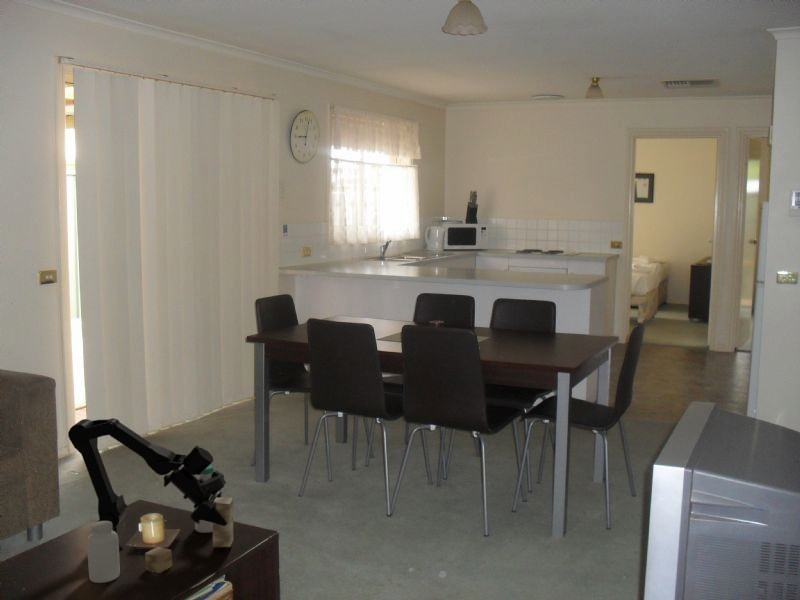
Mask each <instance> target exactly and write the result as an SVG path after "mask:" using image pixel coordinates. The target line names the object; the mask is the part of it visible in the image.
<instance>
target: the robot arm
mask: <svg viewBox="0 0 800 600" xmlns="http://www.w3.org/2000/svg"><path fill="white" fill-rule="evenodd" d="M67 435H68V439H69V441H70V442H71V444H72V446H73V447H74V449H75V450H77V452H78V453H79V454H80V455H81V457H82V459H83V462H84V465H85V467H86V471H87V473H88V475H89V478H90V481H91V484H92V487H93V489H94V492H95V495H96V496H97V497H96V498H97V499H98V500H97V513H98V521H97V522H100V521H110V522H112V527H113V528H112V529H113V530H112V531H114V532H116V533H117V534H118V527H117V526H118V525H119V524H120V523H121V521H122V520H123V519H124V518H125V516H126V514H127V508H128V505H127V504H126V501H125V498H124V495H123V494H121V495H117V493H115V492H114V489H113V486H112V484H111V481H110V479H109V476H108V473H107V469H106V468H105V464H104V461H103V459H102V456H101V454H100V451H99V448H98V442H99V441H98V439H99V438H101V437H104V436H105V437H106V436H110V437H111V438H112V439H113V440H115V441H117V442H118V443H121V445H123V446H125V447H126V448H128V449H129V450H131V451H132V452H133V453H135V454H136V455H138V456H140V457H141V458H142V459H143V460H144V461H145V463H146V464H147V466H148V467H149V468H150V470H152V471H154V473H156V475H159V476H164V477H163V486H164V487H166V488H167V486H168V485H169V484H170V483H171V484H172V485H173V486H174V487H175V488H176V489H177V490H178V491H180V493H182V494H183V497H182V498H183V499H184V500H187V499H188V500H189V501H190V502H191V503H192V504H193V508H195V509H193V511H192V512H191V513H190V520H191V521H192V522H194V524H195V523H197V522H198V521H199V520H204V521H208V522H212V523H215V524H219V525H222V526H226V525H227V522H226V521H225V520H224V518H223V517H222V516H221V515H220V513H219V512H218V511H217V510H216V503H214V504H213V502H214V500H215V499H216V498H222V495H223V494H222V493H223V492H222V491H221V490H223V488H224V487H225V484H227V482H226V480H225V475H224V474H222V472H220V471H218V470H214V471H213V472H212V474H211V478H209V479H208V480H206V481H204V480H203V479H201V478H200V479H199V478H197V477H196V475H197V476H199V475H200V474H201V473H202V472H203V471H204V470H205V469H206V468H207V467H208V466H209V465H211V464H212V463H213V462H214V457H213V455H212V454H211V453H210V451H208V450H207V449H204V448H202V447H199V446H198V445H195V446H194V447H193V448H192V449H191V451H190V452H189V453H188V454H180V453H175V452H174V451H172V450H170V449H168V448H166V447H163V446H161V445H155V444H153V443H152V442H150V441H149V440H147V439H145V438H144V437H143V436H141V435H140V434H138V433H136V432H135V431H133V430H132V429H130V428H129V427H128V426H126V425H125V424H123V423H122V422H120V420H118V419H117V418H108V419H94V420H90V419H87V418H85V419H83V418H82V419H81V420H79V421H77V422H76V423H75V424H74V425H72V426H71V427H70V428H69V430H68V433H67ZM182 465H183V466H182ZM218 491H219V494H217V492H218ZM194 504H195V505H194ZM118 545H119V551H121V550H123V549H124V547H123V546H122V545H120V544H118Z"/></svg>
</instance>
